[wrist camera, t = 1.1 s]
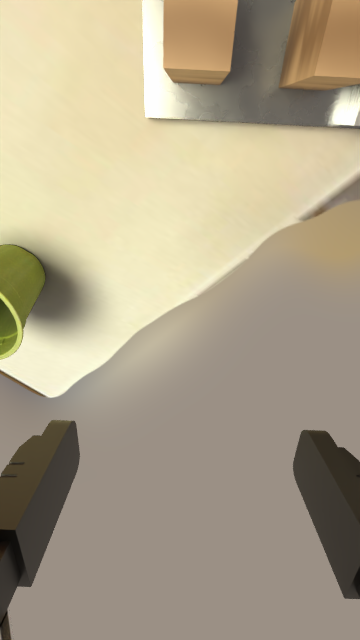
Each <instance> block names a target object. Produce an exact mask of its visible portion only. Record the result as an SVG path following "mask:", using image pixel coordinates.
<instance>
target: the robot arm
mask: <svg viewBox="0 0 360 640" xmlns="http://www.w3.org/2000/svg"><path fill="white" fill-rule="evenodd" d="M79 457H80V453H79V445H78V436H77V428H76V423H75V421H64V420H52V421H51V422H50V423H49V424H48V426H47V427H46V429H45V431H44V432H43V434H42V436H32V437H31V438H30V439H29V440H27V442H25V443H24V444H23V445H21V446H20V447H19V449H18V450H17V452H16V453H15V454H14V456H13V457H12V459H11V460H10V462H9V465H7V466H6V468H5V469H4V471H3V472H2V473H1V477H0V640H14V638H13V631H12V624H11V617H10V610H9V604H10V602H11V599H12V597H13V595H14V592H15V590H16V588H17V586H22V587H23V586H24V587H31V586H32V583H33V581H34V578H35V576H36V573H37V571H38V568H39V566H40V563H41V561H42V558H43V556H44V553H45V551H46V548H47V545H48V543H49V541H50V538H51V536H52V533H53V530H54V528H55V525H56V523H57V520H58V518H59V515H60V513H61V510H62V508H63V505H64V502H65V500H66V498H67V495H68V493H69V490H70V488H71V485H72V482H73V480H74V478H75V475H76V472H77V469H78V465H79ZM293 471H294V476H295V480H296V483H297V485H298V488H299V490H300V492H301V495H302V497H303V500H304V502H305V504H306V507H307V509H308V511H309V514H310V516H311V519H312V521H313V524H314V526H315V528H316V531H317V533H318V535H319V538H320V540H321V543H322V545H323V547H324V550H325V553H326V554H327V557H328V560H329V562H330V565H331V567H332V569H333V572H334V574H335V576H336V579H337V582H338V584H339V586H340V589H341V591H342V594H343V596H344V598H348V599H360V462H359V460H357V459H356V458H355V457H354V456H353V455H352V454H351V453H349V452H348V451H347V450H346V449H345V448H342V447H337V445H336V444H335V442H334V440H333V439H332V437H331V436H330V435H329V433H328V432H326V431H315V430H303V431H302V432H301V435H300V439H299V442H298V446H297V450H296V454H295V458H294V462H293Z"/></svg>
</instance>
